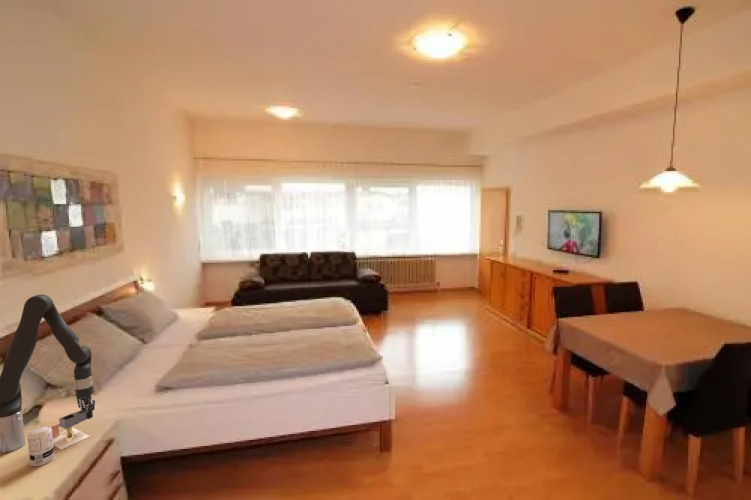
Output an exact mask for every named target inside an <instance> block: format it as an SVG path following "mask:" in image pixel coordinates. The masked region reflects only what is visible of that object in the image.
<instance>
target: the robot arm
mask: <svg viewBox="0 0 751 500" xmlns="http://www.w3.org/2000/svg"><path fill="white" fill-rule="evenodd" d="M43 319H44V321H45V322H46V323H47V325H48V327H49V328H50V331H51V333H52V335H53V336H54V338H55V339H56V340H57V342H58V343H59V344H60V345H61V346H62V348H63V349H64V352H65V354H66V355H67V357H68V359H69V360H70V361H71V362H72V363H74V364H75V367H74V369H73V376H74V393H75V397H76V402H77V406H78V408H79V409H80V410H83V409H85V408H86V413H87V420H89V419H90V420H91V419H92V418H93V417H94V415H93V416H92V412H93V411H95V408H96V406H95V405H96V400H95V399H92V396H91V395H93V394H94V392H95V389H94V380H93V376H92V367H91V365H92V350H91V348H90V347H88V346H87V345H80V339H79V337H78V335H76V334H75V332H74V331H73V330H72V329H71V327H70V326H69V325H68V324H67V323H66V321H65V320H64V318H63V317H62V314H60V312H59V310H58V309H57V307H56V305H55V303H54V301H53V299H52V298H51V297H50V296H49V295H47V294H44V293H43V294H36V295H33V296H30V297H29V298H28V299H27V300H26V301H25V302H24V305H23V308H22V313H21V317H20V320H19V324H18V325H17V328H16V330H15V333H14V334H13V336H12V339H11V340H10V344H9V347H8V349H7V352H6V356H5V359H4V361H3V366H2V370H1V373H0V454H5V453H10V452H13V451H17V450H18V449H20V448H22V447H23V446H24V445H25V444H26V437H25V428H24V427H25V426H24V419H23V417H24V416H23V410H22V409H23V407H22V404H23V399H22V387H21V383H20V380H21V378H22V375H23V372H24V371H25V369H26V367H27V366H28V364H29V362H30V360H31V358H32V355H33V354H34V351H35V348H36V345H37V342H38V338H39V326H40V324H41V321H42V320H43Z"/></svg>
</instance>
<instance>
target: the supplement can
mask: <svg viewBox="0 0 751 500" xmlns="http://www.w3.org/2000/svg"><path fill="white" fill-rule="evenodd" d="M27 443H28V444H27V445H28V455H29V464H30V465H31V466H32V467H39V466H43V465H46V464H49V463H50V462H51V461H52V460H53V459H54V458H55V450H54V449H55V448H54V447H55V446H54V445H53V437H52V429H51V426H49V425H41V426H38V427H35V428H32V429H31V430H30V431H29V432H28V434H27Z"/></svg>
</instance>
